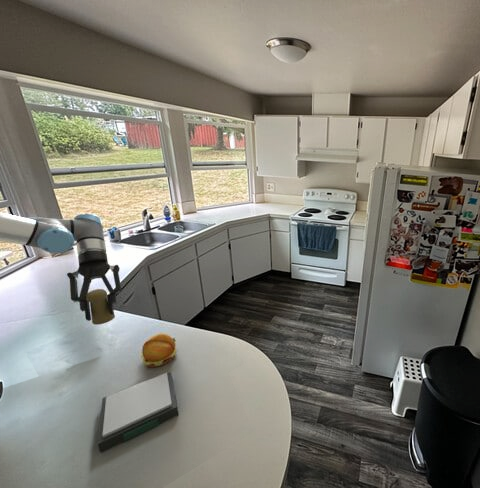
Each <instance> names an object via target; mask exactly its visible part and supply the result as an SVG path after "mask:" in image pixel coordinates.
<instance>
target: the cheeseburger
mask: <svg viewBox="0 0 480 488" xmlns="http://www.w3.org/2000/svg"><path fill="white" fill-rule="evenodd" d="M176 343H177V342H176V338H175V337H172V336H170V334H166V333H158V334H154V335H153V336H151V337H149V338H148V339H147V340H146V341H145V342H144V343H143V345H142V349H141V358H142V364H143V365H145V366H146V367H150V368H156V367H160V366H163V365H165V364H167V363H168V362H170V361H171V360H172V359H173V358H174V357H175V355H176V353H177V350H178V349H177V347H176V345H177V344H176Z"/></svg>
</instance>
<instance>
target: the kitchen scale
mask: <svg viewBox="0 0 480 488" xmlns="http://www.w3.org/2000/svg"><path fill="white" fill-rule="evenodd" d="M101 401H102V402H101V409H100V417H99V426H98V435H97V443H96V445H97V447H98V450H99V452H100V453H103V452H106V451H108V450H110V449H112V448H114V447H116V446H118V445H121V444H122V443H124V442H126V441H128V440H130V439H132V438H134V437H136V436H138V435H140V434H143V433H145V432H146V431H149V430H150V429H152V428H154V427H157V426H159V425H161V424H163V423H165V422H167V421H169V420H171V419H173V418H175V417H178V416H179V413H180V412H179V408H178V403H177V398H176V391H175V386H174V380H173V375H172V371H168V372H165V373H162V374H159V375H157V376H155V377H152V378H150V379H147V380H144V381H142V382H139V383H137V384H135V385H132V386H129V387H126V388H124V389H122V390H120V391H116V392H115V393H111V394H109V395H107V396H104V397H102V400H101Z"/></svg>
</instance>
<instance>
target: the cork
mask: <svg viewBox="0 0 480 488" xmlns="http://www.w3.org/2000/svg"><path fill="white" fill-rule="evenodd" d="M107 295H108V292H107V290H105V289H104V288H96V289H92V290H90V291H88V293H87V295H86V299H87V301H88V302H89V305H90V314H91V324H93V325H103V324H107V323H108V322H109V323H110V322H111V321H113V320H114V319H115V317H116V315H115V314H114V315H111V314H110V312H109V305H108V298H107Z"/></svg>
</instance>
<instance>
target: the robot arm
mask: <svg viewBox="0 0 480 488" xmlns="http://www.w3.org/2000/svg"><path fill="white" fill-rule="evenodd" d="M0 242H4V243H10V244H17V245H22V246H27V247H32V248H38V249H41V250H42V251H45V252H46V253H50V254H63V253H65V252H67V251H69V250H71V249H72V248H73V246H75V245H74V244H75V242H76V251H77V252H76V253H77V255H78V256H77V260H78V267H77V270H76V271H73V272H67V273H66V276H67V278H68V279H69V289H70V290H69V291H70V292H69V293H70V300H71V301H72V302H74V303H79V310H80V311H81V312H84V316H85V317H84V318H85V320H86V321H87V322H90V321H92V316H91V308H90V302H88V301H87V299H86V295H87V293H88V292H89V290H90V286H91V283H92V280H95V279H101V280H102V282H103V284H104V286H105V287H106V290H107V291H108V294H107V297H106V299H107V301H108V305H109V312H110V314H111V315H115V311H114V310H115V309H114V305H117V295H118V294H120V293H122V292H123V290H122V285H121V280H120V273H119V272H120V269H121V268H120V266H119V265H118V264H115V265H111V264H109V262H108V260H109V259H108V254H107V247H106V241H105V234H104V226H103V222H102V219H101V217H100V216H98V215H96V214H92V213H84V214H83V213H80V214H77V215H75V216H74V218H73V219H66V218H52V217H51V218H49V217H41V216H37V217H34V216H33V217H31V216H30V217H29V216H27V217H23V216H17V215H12V214H9V213H5V212H1V211H0ZM109 271H111V272H112V275H113V280H114V287H115V289H114V287H112V284H111V283H110V281H109V279H108V278H107V275H106V274H107V273H108V272H109ZM79 275H80V276H82V277H83V279H82V280H83V281H82V285H81V289H80V293H79V290H78V278H79Z"/></svg>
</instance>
